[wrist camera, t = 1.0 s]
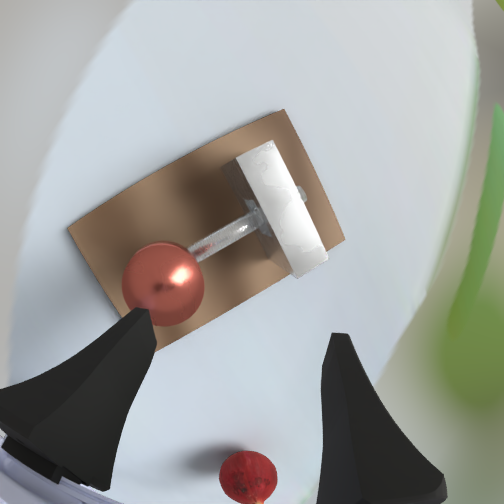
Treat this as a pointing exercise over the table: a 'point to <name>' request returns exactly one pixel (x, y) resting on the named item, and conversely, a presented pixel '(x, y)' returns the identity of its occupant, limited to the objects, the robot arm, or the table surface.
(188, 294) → the red knob lever
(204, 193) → the board
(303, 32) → the table surface
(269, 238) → the grey rectangular block
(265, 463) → the onion
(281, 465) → the table surface
